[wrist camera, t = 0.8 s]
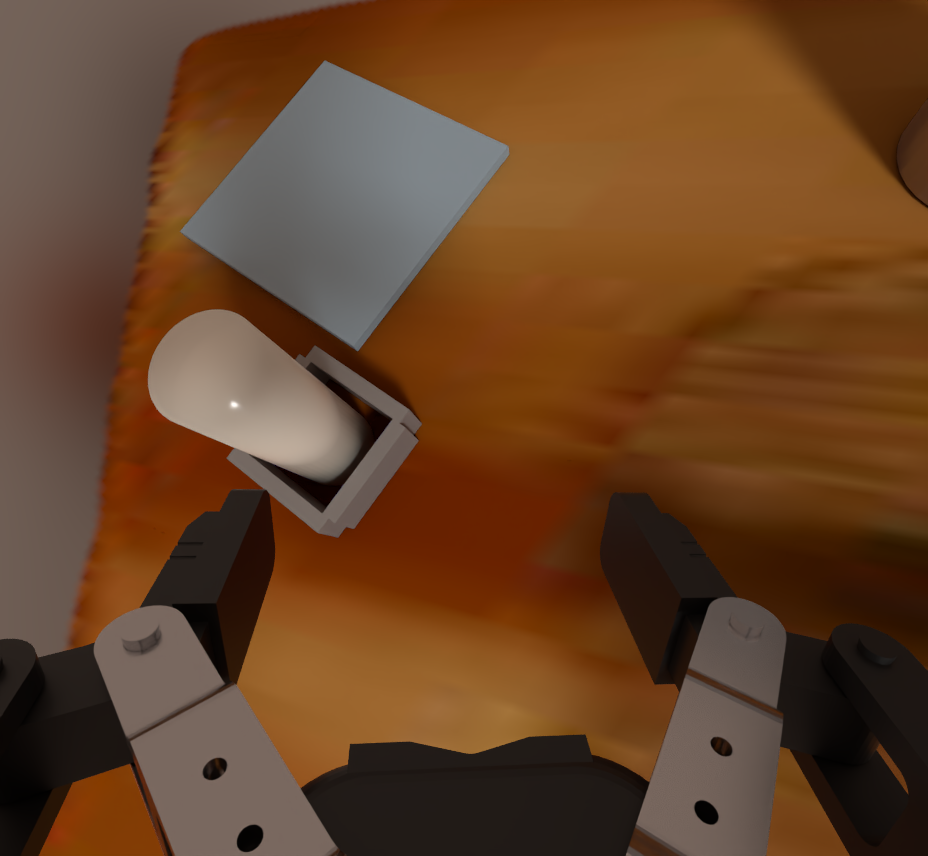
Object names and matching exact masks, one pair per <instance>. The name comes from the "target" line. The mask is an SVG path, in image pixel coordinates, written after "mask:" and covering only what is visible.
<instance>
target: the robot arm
mask: <svg viewBox="0 0 928 856" xmlns="http://www.w3.org/2000/svg"><path fill="white" fill-rule="evenodd" d="M897 163H898V168H899V172H900V174H901V176H902V178H903V180H904V182H905V184H906V186H907V187H908V188H909V189H910V190H911V191H912V192H913V194H914V195H915V196H916V197H917V198H918V199H920V200H921V201H922V202H924V203H925V204H926V205H928V98H927V100H926V101H925V103H924V104H923V105H922V107H921V108H920V109H919V111H918V112H917V114H916V115H915V116H914V118H913V119H912V120H911V122H910V123H909V125H908V126H907V128H906V129H905V130H904V132H903V133H902V135H901V138H900V141H899V144H898V147H897ZM600 559H601V565H602V569H603V571H604V574H605V576H606V578H607V580H608V583H609V585H610V587H611V589H612V591H613V594H614V596H615V598H616V600H617V602H618V605H619V607H620V609H621V611H622V613H623V616H624V618H625V620H626V622H627V625H628V627H629V629H630V631H631V633H632V636H633V638H634V640H635V642H636V644H637V647H638V649H639V651H640V653H641V655H642V658H643V660H644V662H645V664H646V667H647V669H648V671H649V673H650V675H651V678H652V680H653V682H654V684H675V685H676V687H677V689H678V691H679V695H678V698H677V701H676V704H675V707H674V710H673V713H672V716H671V719H670V722H669V725H668V727H667V730H666V733H665V736H664V739H663V742H662V745H661V748H660V751H659V754H658V757H657V760H656V763H655V766H654V769H653V772H652V775H651V778H650V781H649V782H648V781H646V780H645V779H644V778H642V777H641V776H640V775H638V774H636V773H635V772H633V771H631V770H629V769H628V768H626V767H624V766H622V765H620V764H618V763H615V762H613V761H611V760H608V759H605V758H602V757H599V756H595V755H591V752H590V748H589V745H588V742H587V738H586V735H563V736H538V737H527V738H524V739H521V740H518V741H515V742H511V743H508V744H505V745H502V746H499V747H495V748H492V749H489V750H486V751H483V752H479V753H475V754H466V753H461V752H456V751H451V750H447V749H442V748H437V747H433V746H428V745H423V744H418V743H414V742H390V743H365V744H350V750H349V760H348V765H345V766H342V767H339V768H336V769H334V770H331V771H329V772H327V773H325V774H322V775H321V776H319V777H317V778H316V779H314V780H312V781H310V782H309V783H307V784H306V785H305V786H303V787H302V788H300V787H299V786H298V784H297V782H296V781H295V779H294V777H293V776H292V774H291V773H290V771H289V769H288V768H287V766H286V765H285V763H284V761H283V760H282V758H281V756H280V755H279V753H278V752H277V750H276V748H275V747H274V745H273V743H272V742H271V740H270V739H269V737H268V735H267V734H266V732H265V730H264V729H263V727H262V726H261V724H260V722H259V721H258V719H257V717H256V716H255V714H254V713H253V711H252V709H251V708H250V706H249V704H248V703H247V701H246V700H245V698H244V696H243V695H242V693H241V691H240V690H239V688H238V687H237V686H236V684H237V681H238V678H239V675H240V672H241V669H242V665H243V662H244V659H245V656H246V653H247V650H248V647H249V644H250V641H251V637H252V634H253V631H254V628H255V625H256V622H257V619H258V616H259V613H260V609H261V606H262V603H263V600H264V597H265V594H266V591H267V588H268V585H269V581H270V578H271V575H272V572H273V567H274V560H275V542H274V532H273V523H272V514H271V505H270V497H269V493H268V491H267V490H251V489H233V490H231V491H230V493H229V495H228V497H227V498H226V500H225V502H224V504H223V506H222V508H221V510H220V512H205V513H203V514H202V515H201V516H199V517H198V518H197V519H196V520H194V521H193V522H192V523H191V524H189V525H188V526H187V528H186V529H185V531H184V533H183V534H182V536H181V538H180V540H179V541H178V546H175V548H174V550H173V552H172V553H171V555H170V560H167V562H166V564H165V565H164V567H163V569H162V570H161V572H160V574H159V576H158V577H157V579H156V581H155V582H154V584H153V586H152V588H151V589H150V591H149V593H148V594H147V596H146V598H145V600H144V601H143V603H142V605H141V606H140V608H139V609H136V610H133V611H130V612H128V613H126V614H124V615H122V616H120V617H118V618H117V619H115V620H114V621H112V622H111V623H110V624H109V625H107V626H106V627H105V628H104V629H103V630H102V632H101V633H100V634H99V636H98V637H97V639H96V641H95V643H92V644H89V645H86V646H83V647H79V648H75V649H71V650H67V651H63V652H59V653H55V654H51V655H47V656H43V657H39V658H38V657H37V654H36V652H35V649H34V648H33V646H32V645H31V644H29V643H28V642H26V641H23V640H19V639H2V640H0V856H39V854H40V851H41V849H42V847H43V845H44V843H45V841H46V839H47V836H48V834H49V832H50V830H51V828H52V826H53V823H54V821H55V819H56V817H57V815H58V813H59V811H60V808H61V806H62V804H63V802H64V800H65V798H66V796H67V793H68V791H69V789H70V787H71V785H72V783H73V782H76V781H79V780H82V779H85V778H88V777H91V776H94V775H97V774H100V773H103V772H106V771H109V770H112V769H115V768H118V767H121V766H124V765H127V764H130V766H131V769H132V771H133V774H134V777H135V779H136V782H137V784H138V787H139V790H140V792H141V795H142V798H143V800H144V803H145V806H146V808H147V811H148V813H149V816H150V819H151V821H152V824H153V827H154V829H155V832H156V835H157V837H158V840H159V842H160V845H161V848H162V851H163V853H164V856H766V853H767V845H768V837H769V829H770V821H771V813H772V806H773V798H774V790H775V782H776V774H777V766H778V759H779V751H780V747H784V748H788V749H790V751H791V752H792V754H793V756H794V758H795V759H796V761H797V763H798V765H799V767H800V768H801V770H802V772H803V774H804V775H805V777H806V779H807V781H808V782H809V784H810V786H811V788H812V790H813V791H814V793H815V795H816V797H817V798H818V800H819V802H820V804H821V805H822V807H823V809H824V811H825V812H826V814H827V816H828V818H829V820H830V821H831V823H832V825H833V827H834V828H835V830H836V832H837V834H838V835H839V837H840V839H841V841H842V843H843V844H844V846H845V848H846V850H847V851H848V853H849V855H850V856H928V671H927V670H926V669H925V668H924V667H923V665H922V664H921V663H920V662H919V661H918V660H917V659H916V658H915V657H914V656H913V654H912V653H911V652H910V651H909V650H908V649H907V648H905V647H904V646H903V645H902V644H901V643H899V642H898V641H896V640H895V639H893V638H892V637H890V636H888V635H887V634H885V633H883V632H880V631H878V630H876V629H873V628H871V627H867V626H864V625H859V624H842V625H839V626H837V627H836V628H834V630H833V632H832V634H831V636H830V638H829V640H828V641H824V640H820V639H815V638H811V637H807V636H802V635H798V634H793V633H789V632H786V631H785V630H784V628H783V626H782V624H781V623H780V622H779V620H778V619H777V618H776V617H775V616H774V615H772V614H771V613H770V612H769V611H767V610H766V609H764V608H763V607H761V606H759V605H757V604H755V603H753V602H750V601H747V600H744V599H740V598H737V596H736V595H735V594H734V592H733V591H732V589H731V588H730V587H729V585H728V584H727V582H726V581H725V580H724V578H723V577H722V576H721V574H720V573H719V571H718V570H717V569H716V567H715V566H714V564H713V563H712V562H711V560H710V559H709V557H706V553H705V552H704V551H703V549H702V548H701V546H700V545H697V541H696V539H695V538H694V537H693V535H692V534H691V533H690V531H689V530H688V528H687V527H686V526H685V525H683V524H682V523H681V522H679V521H678V520H677V519H675V518H674V517H673V516H671V515H670V514H669V513H661V512H660V511H659V510H658V508H657V507H656V505H655V504H654V502H653V501H652V499H651V498H650V496H649V495H648V494H647V493H614V494H613V495H612V496H611V499H610V503H609V508H608V512H607V517H606V522H605V526H604V531H603V536H602V540H601V546H600ZM879 744H881V745H882V746H883V748H884V749H885V750H886V752H887V753H888V755H889V756H890V757H891V759H892V760H893V762H894V763H895V764H896V766H897V767H898V768H899V770H900V771H901V773H902V775H903V777H904V779H905V781H906V784H907V788H908V794H909V795H908V794H907V792H906V791H905V790H904V788H903V787H902V785H901V784H900V783H899V781H898V780H897V778H896V777H895V776H894V774H893V773H892V771H891V770H890V769H889V767H888V766H887V764H886V763H885V761H884V760H883V759H882V757H881V756H880V754H879V753H878V752H877V750H876V749H877V747H878V746H879Z"/></svg>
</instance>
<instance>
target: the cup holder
mask: <svg viewBox="0 0 928 856" xmlns="http://www.w3.org/2000/svg"><path fill="white" fill-rule="evenodd" d="M295 361H297V362H298V363H299V364H300V365H301V366H303V367H304V368H305V369H306V370H307V371H309V372H310V373H311V374H312V375H313V376H315V377H316V378H317V379H318V380H319V381H321V382H322V383H323V384H324V385H326V383H327V382H328V381H329V379H331V380H333V381H334V382H336V383H337V384H338V385H340V386H341V387H343V388H344V389H346V390H347V391H348V392H350V393H351V394H353V395H354V396H356V397H357V398H359V399H360V400H361V401H363V402H364V403H366V404H367V405H369V406H370V407H371V408H373V409H374V410H376V411H377V412H379V413H380V414H381V415H383V416H384V417H386V418H387V419H389V420H390V421H391V422H390V423H389V425H388V426H387V427H386V429H385V430H384V431H383V433H382V434H381V435H380V437H379V438H378V439H377V441H376V442H375V443H374V445H373V446H372V448H371V449H370V450H369V452H368V453H367V454H366V456H365V457H364V458H363V460H362V461H361V462H360V464H359V465H358V466H357V468H356V469H355V470H354V472H353V473H352V474H351V476H350V477H349V478H348V480H347V481H346V482H345V484H344V485H343V486H342V488H341V489H340V490H339V492H338V493H337V494H336V496H335V497H334V498H333V500H332V501H331V502H330V504H329V505H328V506H327V507H326V506H324V505H323V504H322V503H321V502H319V501H318V500H317V499H316V498H314V497H313V496H312V495H311V494H309V493H308V492H307V491H306V490H304V489H303V488H302V487H301V486H299V485H298V484H297V483H296V482H294V481H293V480H292V479H291V478H289V477H288V476H287V475H285V474H284V473H283V472H282V471H280V470H279V469H278V468H277V467H275V466H274V465H273V464H272V463H270V462H267V461H265V460H262V459H260V458H258V457H255V456H253V455H251V454H248V453H246V452H243V451H241V450H239V449H236V448H234V449H233V451H232V452H231V453H230V455H229V456H228V457H227V459H228V460H229V461H231V462H232V463H233V464H234V465H236V466H237V467H238V468H239V469H240V470H242V471H243V472H244V473H245V474H247V475H248V476H249V477H250V478H251V479H253V480H254V481H255V482H256V483H257V484H259V485H260V486H261V487H262V488H264V489H265V490H267V491H268V493H270V494H271V495H272V496H273V497H275V498H276V499H277V500H278V501H279V502H281V503H282V504H283V505H284V506H286V507H287V508H288V509H289V510H290V511H292V512H293V513H294V514H295V515H297V516H298V517H299V518H300V519H301V520H303V521H304V522H305V523H306V524H308V525H309V526H310V527H311V528H312V529H314V530H315V531H316V532H317V533H320V534H325V535H330V536H334V537H339V536H340V534H341V533H342V531H343V530H344V529H345V527H349V528H353V529H354V528H355V527H356V525H357V524H358V522H359V521H360V520H361V518H362V517H363V516H364V514H365V513H366V512H367V510H368V509H369V507H370V506H371V505H372V503H373V502H374V501H375V499H376V498H377V497H378V495H379V494H380V493H381V491H382V490H383V488H384V487H385V486H386V484H387V483H388V482H389V480H390V479H391V478H392V476H393V475H394V473H395V472H396V471H397V469H398V468H399V467H400V465H401V464H402V463H403V461H404V460H405V459H406V457H407V456H408V454H409V453H410V452H411V450H412V449H413V448H414V446H415V445H416V444H417V442H418V441H419V440H418V439H417V438H416V437H415V436H414V434H415V433H416V431H417V430H418V428H419V427H420V426H421V424H422V423H421V422H420V421H419V420H418V419H417V418H416V417H415V415H414V414H413V413H412V412H411V411H410V410H409V409H408V408H406V407H405V406H403V405H402V404H400V403H399V402H397V401H396V400H394V399H393V398H392V397H390V396H389V395H387V394H386V393H384V392H383V391H381V390H380V389H378V388H377V387H375V386H374V385H372V384H371V383H370V382H368V381H367V380H365V379H364V378H362V377H361V376H359V375H358V374H356V373H355V372H353V371H352V370H350V369H349V368H348V367H346V366H345V365H343V364H342V363H340V362H339V361H337V360H336V359H334V358H333V357H331V356H330V355H328V354H327V353H326V352H324V351H323V350H321V349H320V348H318V347H317V346H314V347H313V349H312V350H311V351H310V352H309V354H308V355H307V356H306V357H303V356H302V355H300V354H299V355H298V357H297V358H296V359H295Z"/></svg>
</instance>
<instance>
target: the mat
mask: <svg viewBox="0 0 928 856" xmlns="http://www.w3.org/2000/svg"><path fill="white" fill-rule="evenodd" d="M508 155H509V148H508V146H507V145H505V144H503V143H500V142H498V141H496V140H494V139H492V138H490V137H488V136H485V135H483V134H481V133H479V132H477V131H475V130H473V129H470V128H468V127H466V126H464V125H462V124H460V123H458V122H455V121H453V120H451V119H449V118H447V117H445V116H443V115H440V114H438V113H436V112H434V111H432V110H430V109H428V108H425V107H423V106H421V105H419V104H417V103H415V102H413V101H410V100H408V99H406V98H404V97H402V96H400V95H398V94H395V93H393V92H391V91H389V90H387V89H385V88H383V87H380V86H378V85H376V84H374V83H372V82H370V81H368V80H365V79H363V78H361V77H359V76H357V75H355V74H353V73H350V72H348V71H346V70H344V69H342V68H340V67H338V66H335V65H333V64H331V63H329V62H327V61H324V62H323V63H322V64H321V65H320V67H319V68H318V69H317V70H316V71H315V73H314V74H313V75H312V76H311V77H310V78H309V80H308V81H307V82H306V83H305V84H304V86H303V87H302V88H301V89H300V90H299V91H298V93H297V94H296V95H295V96H294V97H293V99H292V100H291V101H290V102H289V103H288V104H287V106H286V107H285V108H284V109H283V110H282V112H281V113H280V114H279V115H278V116H277V117H276V119H275V120H274V121H273V122H272V123H271V125H270V126H269V127H268V128H267V129H266V130H265V132H264V133H263V134H262V135H261V136H260V138H259V139H258V140H257V141H256V142H255V143H254V145H253V146H252V147H251V148H250V149H249V151H248V152H247V153H246V154H245V155H244V156H243V158H242V159H241V160H240V161H239V162H238V164H237V165H236V166H235V167H234V168H233V169H232V171H231V172H230V173H229V174H228V175H227V177H226V178H225V179H224V180H223V181H222V182H221V184H220V185H219V186H218V187H217V188H216V190H215V191H214V192H213V193H212V194H211V195H210V197H209V198H208V199H207V200H206V201H205V203H204V204H203V205H202V206H201V207H200V208H199V210H198V211H197V212H196V213H195V214H194V216H193V217H192V218H191V219H190V220H189V221H188V223H187V224H186V225H185V226H184V227H183V229H182V230H181V231H180V232H181V233H182V234H183V235H184V236H186V237H187V238H188V239H190V240H191V241H193V242H194V243H196V244H197V245H199V246H200V247H202V248H203V249H205V250H206V251H208V252H209V253H211V254H212V255H214V256H215V257H217V258H218V259H220V260H221V261H223V262H224V263H226V264H227V265H229V266H230V267H232V268H233V269H235V270H236V271H238V272H239V273H241V274H242V275H244V276H245V277H247V278H248V279H250V280H251V281H253V282H254V283H256V284H257V285H259V286H260V287H262V288H263V289H265V290H266V291H268V292H269V293H271V294H272V295H274V296H275V297H277V298H278V299H280V300H281V301H283V302H284V303H286V304H287V305H289V306H290V307H292V308H293V309H295V310H296V311H298V312H299V313H301V314H302V315H304V316H305V317H307V318H308V319H310V320H311V321H313V322H314V323H316V324H317V325H319V326H320V327H322V328H323V329H325V330H326V331H328V332H329V333H331V334H332V335H334V336H335V337H337V338H338V339H340V340H341V341H343V342H344V343H346V344H347V345H349V346H350V347H352V348H353V349H355V350H356V351H358V350H359V349H360V348H361V346H362V345H363V344H364V343H365V341H366V340H367V339H368V337H369V336H370V335H371V333H372V332H373V331H374V330H375V328H376V327H377V326H378V324H379V323H380V322H381V320H382V319H383V318H384V317H385V315H386V314H387V313H388V311H389V310H390V309H391V307H392V306H393V305H394V304H395V302H396V301H397V300H398V298H399V297H400V296H401V294H402V293H403V292H404V291H405V289H406V288H407V287H408V285H409V284H410V283H411V281H412V280H413V279H414V278H415V276H416V275H417V274H418V272H419V271H420V270H421V268H422V267H423V266H424V265H425V263H426V262H427V261H428V259H429V258H430V257H431V255H432V254H433V253H434V252H435V250H436V249H437V248H438V246H439V245H440V244H441V243H442V241H443V240H444V239H445V237H446V236H447V235H448V233H449V232H450V231H451V230H452V228H453V227H454V226H455V224H456V223H457V222H458V220H459V219H460V218H461V217H462V215H463V214H464V213H465V211H466V210H467V209H468V207H469V206H470V205H471V204H472V202H473V201H474V200H475V198H476V197H477V196H478V194H479V193H480V192H481V191H482V189H483V188H484V187H485V185H486V184H487V183H488V181H489V180H490V179H491V178H492V176H493V175H494V174H495V172H496V171H497V170H498V168H499V167H500V166H501V165H502V163H503V162H504V161H505V159H506V158H507V157H508Z"/></svg>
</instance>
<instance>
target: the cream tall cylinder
mask: <svg viewBox="0 0 928 856" xmlns="http://www.w3.org/2000/svg"><path fill="white" fill-rule="evenodd" d="M148 387H149V393H150V396H151V399H152V401H153V403H154V405H155V407H156V408H157V409H158V411H159V412H160V413H161V414H162V415H163V416H164V417H166V418H167V419H169V420H170V421H173V422H175V423H177V424H179V425H182V426H184V427H186V428H189V429H191V430H194V431H196V432H198V433H201V434H203V435H205V436H208V437H210V438H213V439H215V440H217V441H220V442H222V443H224V444H227V445H229V446H232V447H234V448H236V449H239V450H241V451H243V452H246V453H248V454H251V455H253V456H255V457H258V458H260V459H262V460H265V461H267V462H270V463H272V464H274V465H277V466H279V467H281V468H284V469H286V470H289V471H291V472H293V473H296V474H298V475H300V476H303V477H305V478H308V479H310V480H312V481H315V482H317V483H320V484H323V485H328V486H337V485H342V484H345V482H346V481H347V480H348V478H349V477H350V476H351V474H352V473H353V472H354V470H355V469H356V468H357V466H358V465H359V464H360V462H361V461H362V460H363V458H364V457H365V456H366V454H367V453H368V452H369V450H370V449H371V448H372V446H373V445H374V436H373V432H372V429H371V427H370V425H369V423H368V422H367V421H366V419H365V418H364V417H363V416H361V415H360V414H359V413H358V412H357V411H355V410H354V409H353V408H352V407H351V406H349V405H348V404H347V403H346V402H345V401H343V400H342V399H341V398H340V397H339V396H337V395H336V394H335V393H334V392H333V391H331V390H330V389H329V388H328V387H327V386H325V385H324V384H323V383H322V382H321V381H319V380H318V379H317V378H316V377H315V376H313V375H312V374H311V373H310V372H309V371H307V370H306V369H305V368H304V367H303V366H301V365H300V364H299V363H298V362H297V361H295V360H294V359H293V358H292V357H291V356H289V355H288V354H287V353H286V352H285V351H284V350H282V349H281V348H280V347H279V346H278V345H276V344H275V343H274V342H273V341H272V340H270V339H269V338H268V337H267V336H266V335H264V334H263V333H262V332H261V331H260V330H258V329H257V328H256V327H255V326H254V325H252V324H251V323H250V322H249V321H248V320H246V319H245V318H244V317H242V316H241V315H239V314H237V313H234V312H232V311H227V310H219V309H216V310H206V311H202V312H199V313H196V314H193V315H191V316H189V317H187V318H185V319H184V320H182V321H181V322H179V323H178V324H176V325H175V326H174V327H173V328H172V329H171V330H170V331H169V332H168V333H167V334H166V335H165V336H164V338H163V339H162V340H161V342H160V343H159V345H158V347H157V348H156V350H155V352H154V354H153V357H152V360H151V363H150V367H149V373H148Z"/></svg>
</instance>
